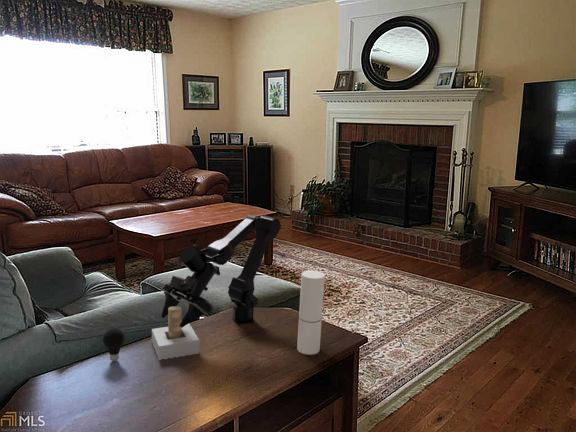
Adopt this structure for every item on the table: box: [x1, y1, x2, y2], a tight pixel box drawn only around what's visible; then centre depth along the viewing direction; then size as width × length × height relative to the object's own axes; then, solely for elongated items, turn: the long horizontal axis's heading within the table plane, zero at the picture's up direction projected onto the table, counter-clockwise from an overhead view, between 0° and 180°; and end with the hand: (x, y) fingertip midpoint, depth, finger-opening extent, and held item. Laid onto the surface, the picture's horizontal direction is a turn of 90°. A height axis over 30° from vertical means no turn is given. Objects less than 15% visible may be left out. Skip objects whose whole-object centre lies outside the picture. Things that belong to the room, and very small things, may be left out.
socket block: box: [151, 323, 200, 361], centre depth 147 cm, size 12×12×4 cm
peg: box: [167, 305, 183, 340], centre depth 147 cm, size 4×4×13 cm
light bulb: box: [102, 327, 125, 362], centre depth 137 cm, size 6×6×10 cm
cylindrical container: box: [296, 270, 326, 356], centre depth 149 cm, size 7×7×25 cm
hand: (171, 322), depth 145 cm, fingers open, 9 cm apart
